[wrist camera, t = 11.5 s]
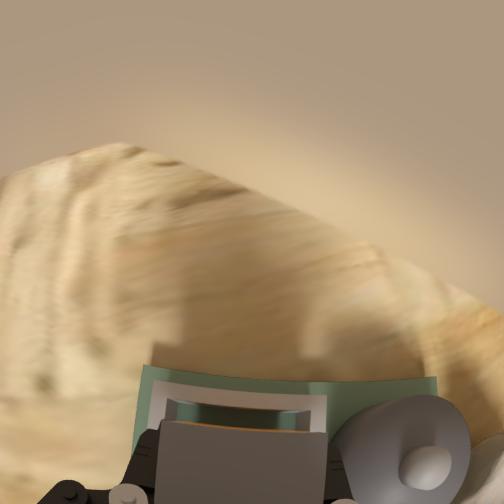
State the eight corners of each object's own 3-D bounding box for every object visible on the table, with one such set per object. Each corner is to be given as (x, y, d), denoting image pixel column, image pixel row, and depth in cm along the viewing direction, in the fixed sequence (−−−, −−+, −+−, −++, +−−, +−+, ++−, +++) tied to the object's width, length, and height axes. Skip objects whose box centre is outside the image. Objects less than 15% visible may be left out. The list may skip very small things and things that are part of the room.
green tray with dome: (133, 522, 12) (93, 557, 6) (149, 368, 18) (112, 340, 12) (419, 516, 13) (480, 531, 7) (425, 380, 19) (487, 355, 13)
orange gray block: (185, 501, 12) (151, 554, 5) (192, 421, 15) (161, 420, 8) (277, 509, 12) (314, 565, 5) (284, 429, 15) (328, 432, 8)
